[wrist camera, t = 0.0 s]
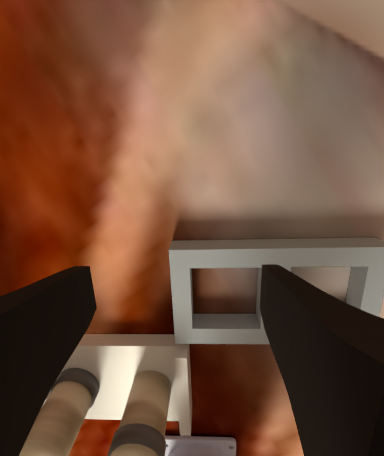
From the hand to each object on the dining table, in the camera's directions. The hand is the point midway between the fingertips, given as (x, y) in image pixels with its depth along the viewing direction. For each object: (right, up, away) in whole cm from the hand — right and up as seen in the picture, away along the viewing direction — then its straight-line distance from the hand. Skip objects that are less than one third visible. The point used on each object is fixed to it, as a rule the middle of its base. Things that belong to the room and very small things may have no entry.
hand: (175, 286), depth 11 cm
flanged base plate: (-6, -12, +15) cm, 20 cm away
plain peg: (-3, -12, +13) cm, 18 cm away
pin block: (+7, -2, +11) cm, 13 cm away
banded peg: (-10, -12, +14) cm, 21 cm away
